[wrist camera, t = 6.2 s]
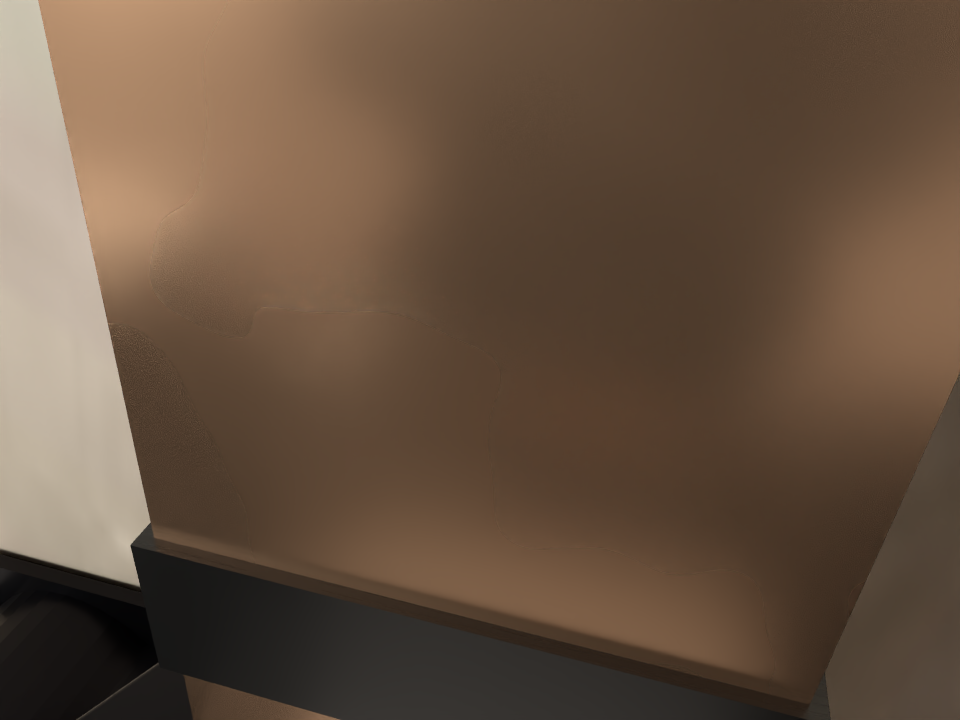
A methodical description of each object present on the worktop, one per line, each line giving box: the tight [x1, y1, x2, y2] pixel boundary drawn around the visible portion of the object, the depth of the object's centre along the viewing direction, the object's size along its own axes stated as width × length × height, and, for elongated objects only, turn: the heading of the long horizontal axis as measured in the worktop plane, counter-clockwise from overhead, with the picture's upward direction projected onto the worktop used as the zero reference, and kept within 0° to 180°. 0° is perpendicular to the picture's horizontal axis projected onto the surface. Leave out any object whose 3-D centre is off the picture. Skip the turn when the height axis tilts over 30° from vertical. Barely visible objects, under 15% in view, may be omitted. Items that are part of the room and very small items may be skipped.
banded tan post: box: [38, 0, 960, 720], centre depth 8 cm, size 4×18×4 cm, turn 176°
